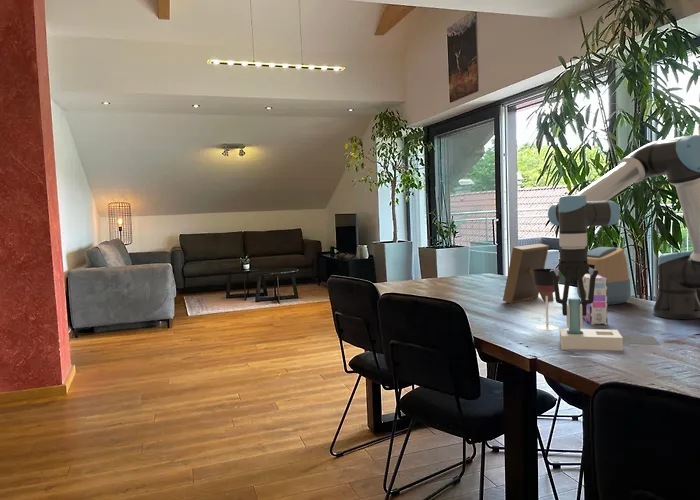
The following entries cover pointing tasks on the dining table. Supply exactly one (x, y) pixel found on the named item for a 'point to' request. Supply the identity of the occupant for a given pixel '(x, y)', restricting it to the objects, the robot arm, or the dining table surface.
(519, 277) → the photo frame
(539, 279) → the wineglass
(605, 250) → the tan and grey appliance
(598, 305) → the candy box
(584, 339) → the hole block
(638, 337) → the mat
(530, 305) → the dining table surface
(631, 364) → the dining table surface
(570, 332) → the peg
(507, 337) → the dining table surface
